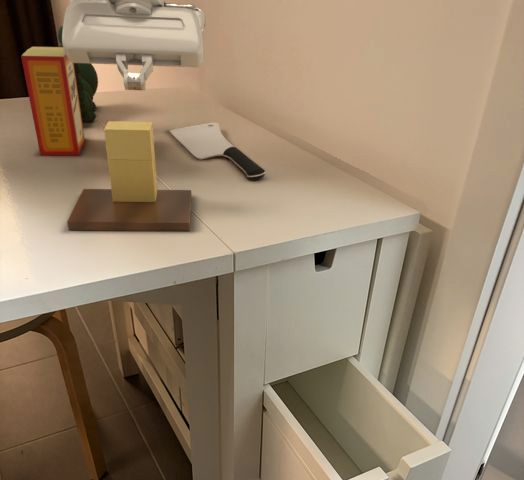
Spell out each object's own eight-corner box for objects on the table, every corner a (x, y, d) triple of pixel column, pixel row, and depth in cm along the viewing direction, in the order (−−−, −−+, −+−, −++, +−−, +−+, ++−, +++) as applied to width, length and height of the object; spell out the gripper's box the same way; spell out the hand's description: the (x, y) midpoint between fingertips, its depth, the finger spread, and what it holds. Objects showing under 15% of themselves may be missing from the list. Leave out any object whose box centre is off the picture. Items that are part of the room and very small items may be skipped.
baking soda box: (49, 139, 105) (31, 44, 95) (84, 139, 106) (70, 45, 96) (40, 155, 97) (20, 53, 88) (78, 155, 98) (63, 54, 89)
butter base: (112, 201, 79) (107, 159, 75) (116, 191, 82) (111, 150, 79) (155, 202, 79) (152, 160, 76) (157, 192, 83) (154, 151, 79)
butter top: (107, 159, 75) (103, 129, 73) (111, 150, 79) (108, 121, 76) (152, 160, 76) (149, 130, 73) (154, 151, 79) (152, 122, 77)
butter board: (68, 230, 74) (66, 221, 73) (84, 196, 83) (83, 188, 82) (189, 230, 75) (189, 222, 74) (191, 197, 85) (191, 190, 84)
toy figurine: (104, 139, 112) (100, 98, 130) (90, 34, 99) (89, 4, 117) (55, 140, 110) (58, 98, 128) (35, 33, 97) (42, 3, 115)
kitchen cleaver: (168, 126, 112) (215, 117, 114) (170, 135, 113) (216, 126, 115) (216, 179, 89) (273, 166, 91) (217, 189, 90) (274, 176, 92)
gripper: (205, 20, 87) (206, 102, 85) (70, 14, 85) (69, 98, 83) (204, -11, 80) (206, 76, 79) (60, -18, 78) (57, 71, 76)
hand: (134, 88), depth 81 cm, fingers closed
